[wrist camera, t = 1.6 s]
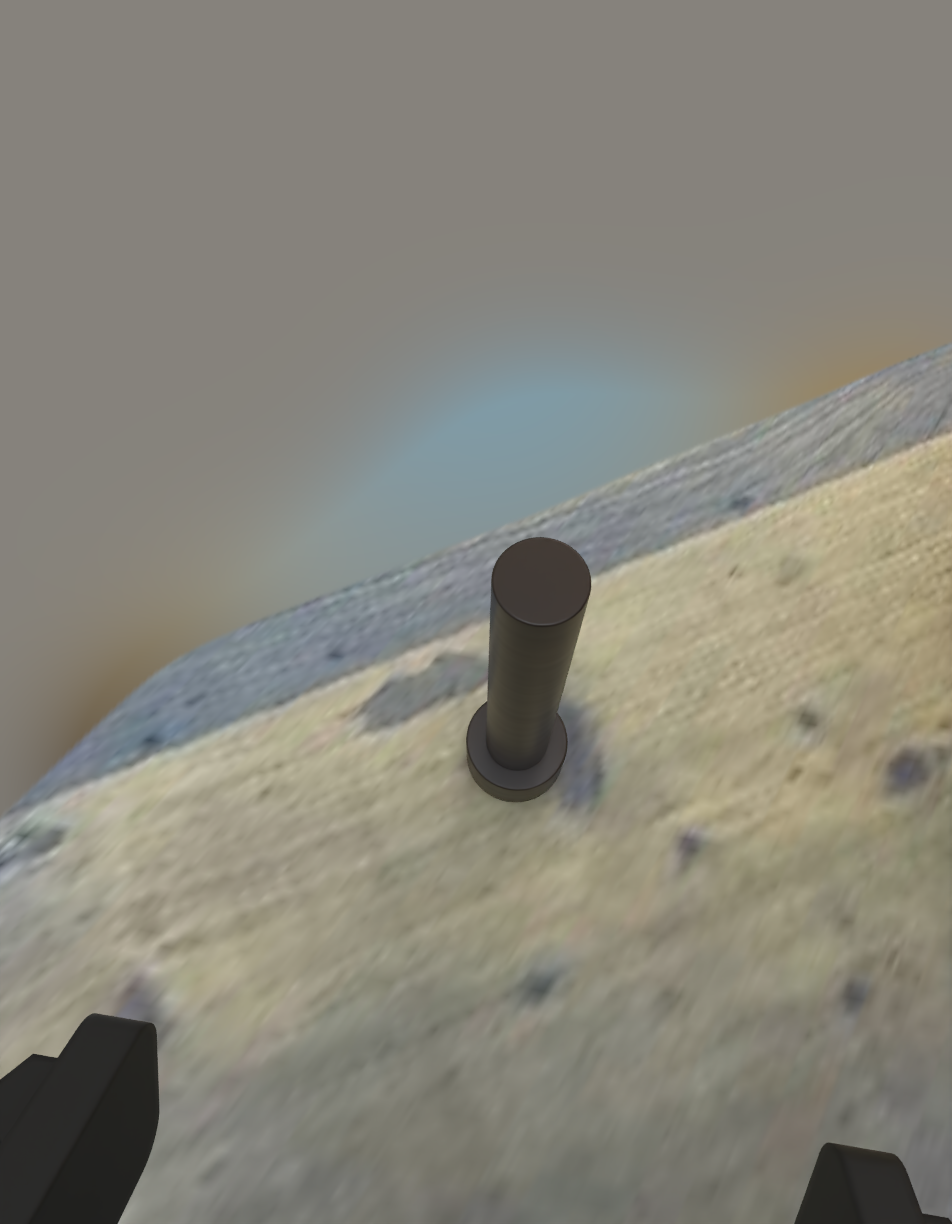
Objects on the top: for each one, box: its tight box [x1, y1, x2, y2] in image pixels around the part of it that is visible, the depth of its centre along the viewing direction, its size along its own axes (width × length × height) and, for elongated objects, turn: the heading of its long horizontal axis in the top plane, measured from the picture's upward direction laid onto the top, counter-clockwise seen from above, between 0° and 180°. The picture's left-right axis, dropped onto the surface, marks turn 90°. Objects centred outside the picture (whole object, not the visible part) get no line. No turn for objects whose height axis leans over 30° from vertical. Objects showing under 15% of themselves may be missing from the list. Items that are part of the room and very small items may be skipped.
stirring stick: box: [466, 537, 591, 802], centre depth 26 cm, size 4×4×15 cm
